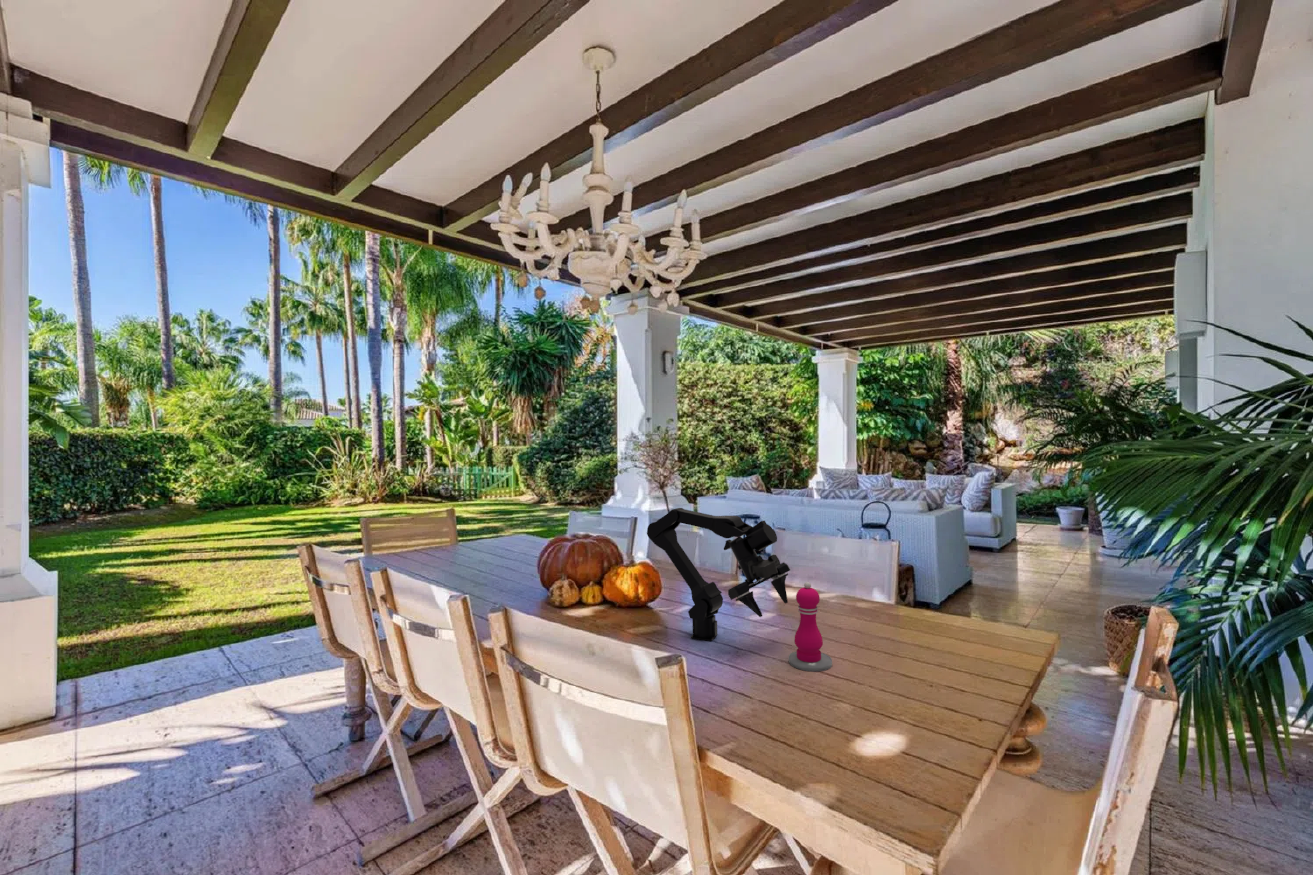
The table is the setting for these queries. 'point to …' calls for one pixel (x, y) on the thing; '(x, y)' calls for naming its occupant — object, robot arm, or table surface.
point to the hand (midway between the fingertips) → (774, 609)
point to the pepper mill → (808, 625)
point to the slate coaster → (811, 663)
